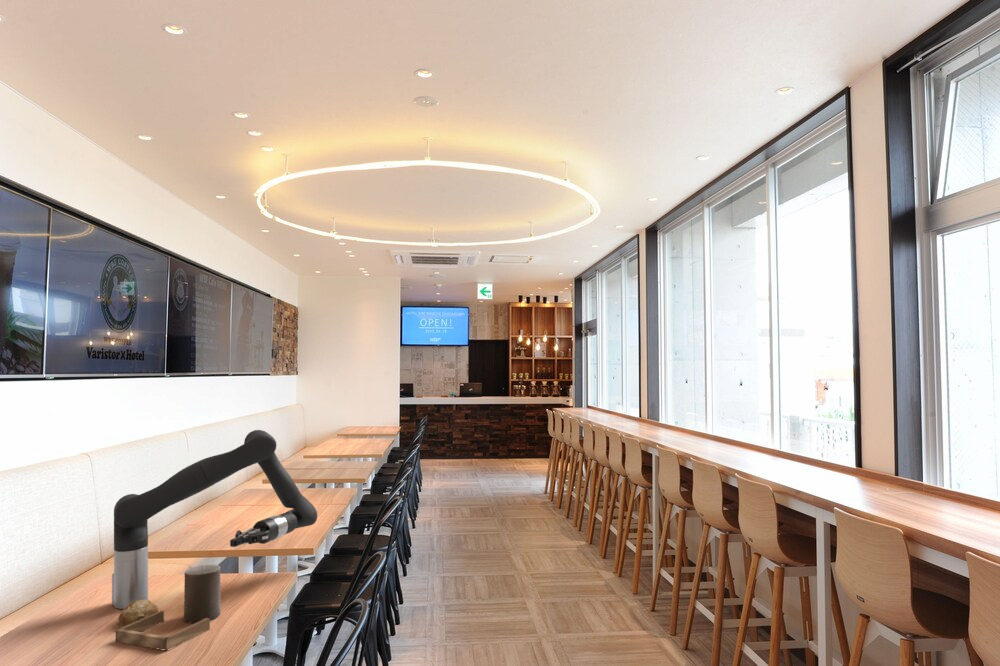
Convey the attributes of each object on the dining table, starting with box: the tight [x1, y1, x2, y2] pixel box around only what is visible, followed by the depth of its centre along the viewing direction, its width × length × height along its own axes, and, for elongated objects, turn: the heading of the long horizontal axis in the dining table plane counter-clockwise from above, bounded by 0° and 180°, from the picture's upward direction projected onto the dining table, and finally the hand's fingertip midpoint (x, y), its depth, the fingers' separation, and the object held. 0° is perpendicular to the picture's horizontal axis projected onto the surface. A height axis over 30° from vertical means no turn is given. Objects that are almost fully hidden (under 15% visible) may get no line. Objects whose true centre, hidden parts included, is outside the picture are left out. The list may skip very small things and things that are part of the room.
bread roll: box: [117, 600, 160, 628], centre depth 187 cm, size 10×10×8 cm
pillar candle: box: [183, 564, 221, 624], centre depth 190 cm, size 10×10×15 cm
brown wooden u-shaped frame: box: [115, 610, 211, 651], centre depth 177 cm, size 18×14×3 cm
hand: (232, 543), depth 201 cm, fingers closed
